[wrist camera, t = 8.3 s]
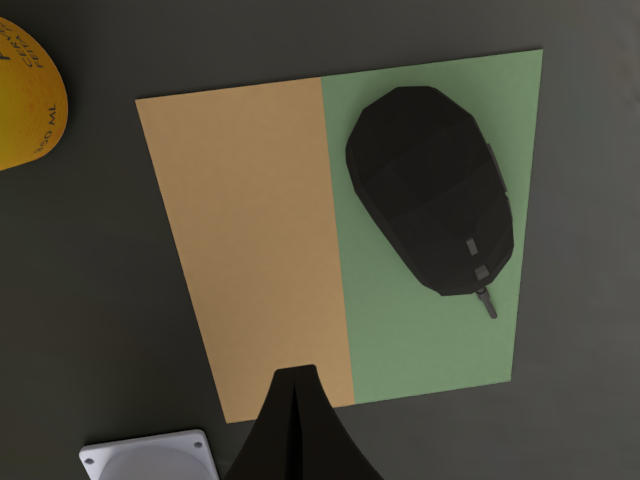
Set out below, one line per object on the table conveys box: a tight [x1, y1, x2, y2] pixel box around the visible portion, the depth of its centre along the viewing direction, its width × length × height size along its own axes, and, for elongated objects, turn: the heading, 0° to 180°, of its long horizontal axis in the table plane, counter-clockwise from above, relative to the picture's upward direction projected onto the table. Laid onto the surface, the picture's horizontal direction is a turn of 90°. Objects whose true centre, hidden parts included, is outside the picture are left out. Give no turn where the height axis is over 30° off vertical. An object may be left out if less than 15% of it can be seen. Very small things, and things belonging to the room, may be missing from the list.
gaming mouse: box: [345, 86, 514, 319], centre depth 19 cm, size 6×15×4 cm, turn 33°
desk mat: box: [135, 49, 543, 423], centre depth 22 cm, size 20×19×1 cm
